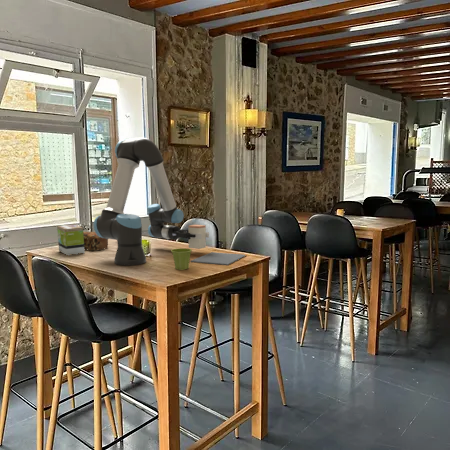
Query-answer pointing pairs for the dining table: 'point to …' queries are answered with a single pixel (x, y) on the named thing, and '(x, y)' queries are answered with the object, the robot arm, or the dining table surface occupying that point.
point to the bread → (94, 241)
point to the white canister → (197, 242)
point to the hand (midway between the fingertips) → (204, 235)
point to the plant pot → (181, 258)
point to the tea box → (70, 239)
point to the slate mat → (218, 258)
